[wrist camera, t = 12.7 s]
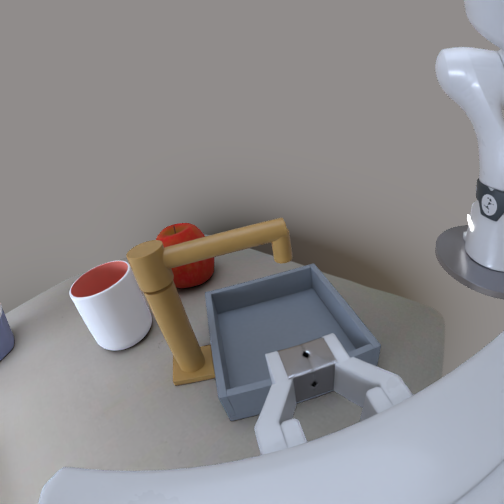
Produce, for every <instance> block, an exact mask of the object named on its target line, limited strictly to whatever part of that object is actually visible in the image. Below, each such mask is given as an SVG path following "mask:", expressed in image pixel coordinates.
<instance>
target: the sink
mask: <svg viewBox="0 0 504 504" xmlns="http://www.w3.org/2000/svg"><path fill="white" fill-rule="evenodd" d="M205 298H206V307H207V316H208V325H209V333H210V341H211V349H212V356H213V363H214V371H215V378H216V384H217V391H218V397H219V400H220V402H221V404H222V406H223V408H224V409H225V411H226V413H227V415H228V417H229V419H230V420H231V421H233V420H238V419H242V418H246V417H251V416H255V415H259V414H260V413H261V411H262V408H263V406H264V403H265V401H266V398H267V396H268V393H269V391H270V388H271V385H272V381H271V377H270V373H269V370H268V365H267V361H266V356H265V354H268V353H271V352H275V351H278V350H282V349H286V348H289V347H293V346H296V345H300V344H302V343H305V342H308V341H311V340H314V339H317V338H320V337H323V336H326V335H329V334H331V333H333V334H335V335H336V337H337V338H338V340H339V341H340V343H341V344H342V346H343V348H344V349H345V351H346V352H347V354H348V355H349V357H350V358H351V357H355V358H358V359H360V360H362V361H365V362H367V363H370V364H372V365H374V366H377V364H378V359H379V354H380V348H381V345H380V343H379V342H378V341H377V340H376V338H375V337H374V336H373V334H372V333H371V332H370V331H369V329H368V328H367V327H366V326H365V324H364V323H363V322H362V321H361V320H360V318H359V317H358V316H357V315H356V313H355V312H354V311H353V310H352V308H351V307H350V306H349V305H348V304H347V302H346V301H345V300H344V299H343V298H342V296H341V295H340V294H339V293H338V291H337V290H336V289H335V288H334V287H333V285H332V284H331V283H330V282H329V281H328V280H327V278H326V277H325V276H324V275H323V274H322V272H321V271H320V270H319V269H318V268H317V267H316V265H315V264H310V265H307V266H303V267H300V268H296V269H292V270H289V271H285V272H281V273H278V274H274V275H270V276H267V277H263V278H259V279H255V280H252V281H248V282H244V283H240V284H236V285H233V286H229V287H225V288H221V289H217V290H213V291H209V292H205ZM332 391H334V390H332ZM329 392H331V391H329ZM329 392H326V393H329ZM326 393H323V394H326ZM323 394H320V395H323ZM320 395H317V396H314V397H311V398H308V399H305V400H303V401H306V400H309V399H312V398H315V397H318V396H320ZM303 401H300V402H303ZM300 402H297V403H300ZM297 403H296V404H297Z"/></svg>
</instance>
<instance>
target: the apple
mask: <svg viewBox="0 0 504 504" xmlns="http://www.w3.org/2000/svg"><path fill="white" fill-rule="evenodd" d="M202 237H205V236H204V234H203V233H202V232H201V231H200V229H198V228H197V227H196V226H195V225H192V224H189V223H182V224H174V225H171V226H168V227H166V228H165V229H163V230H162V231H161V232H160V234H159V235H158V236H157V239H156V240H160V241H161V242H162V243H163V246H164V248H165V247H169V246H172V245H176V244H180V243H183V242H187V241H191V240H195V239H198V238H202ZM171 269H172V272H173V275H174V279H173V281H174V283H175V286H176V287H177V288H188V287H193V286H197V285H200V284H202V283H204V282H205V281H207V280H208V279H210V277H211V275H212V274H213V272H214V257H213V258H209V259H205V260H201V261H197V262H194V263H190V264H186V265H182V266H178V267H174V268H171Z"/></svg>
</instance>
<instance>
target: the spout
mask: <svg viewBox="0 0 504 504" xmlns="http://www.w3.org/2000/svg"><path fill="white" fill-rule="evenodd" d="M270 242H272V248H273V254H274V260H275V262H277V263H287V262H289V261H291V260H292V258H293V257H292V249H291V242H290V235H289V230H288V229H287V228H286V224H285V222H284V220H283V218H278V219H274V220H269V221H265V222H261V223H257V224H253V225H249V226H245V227H241V228H237V229H233V230H230V231H226V232H222V233H218V234H214V235H210V236H206V237H202V238H198V239H195V240H191V241H187V242H183V243H180V244H176V245H172V246H169V247H165V248H164V246H163V243H162V242H161V241H160V240H152V241H147V242H144V243H141V244H139V245H137V246H135V247H133V248H132V249H131V250H129V252H128V253H127V259H128V261H129V264H130V266H131V269H132V271H133V274H134V276H135V279H136V281H137V283H138V286H139V288H140V290H141V291H143V292H155V291H158V290H161V289H163V288H165V287H166V286H168V285H169V284H170V283H171V282H172V281H173V279H174V275H173V272H172V269H171V268H174V267H178V266H182V265H186V264H190V263H194V262H197V261H201V260H205V259H209V258H213V257H216V256H220V255H224V254H228V253H232V252H236V251H239V250H243V249H247V248H251V247H255V246H259V245H262V244H266V243H270Z"/></svg>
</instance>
